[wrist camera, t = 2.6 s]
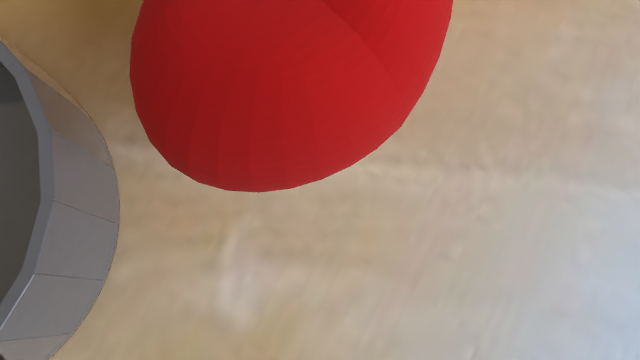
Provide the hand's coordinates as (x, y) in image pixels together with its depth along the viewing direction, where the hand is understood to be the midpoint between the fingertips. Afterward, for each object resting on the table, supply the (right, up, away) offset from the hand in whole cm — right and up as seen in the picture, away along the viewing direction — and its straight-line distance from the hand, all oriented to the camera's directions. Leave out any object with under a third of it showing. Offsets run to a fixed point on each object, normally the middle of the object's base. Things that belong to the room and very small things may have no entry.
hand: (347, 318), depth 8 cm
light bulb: (-1, +4, +14) cm, 15 cm away
